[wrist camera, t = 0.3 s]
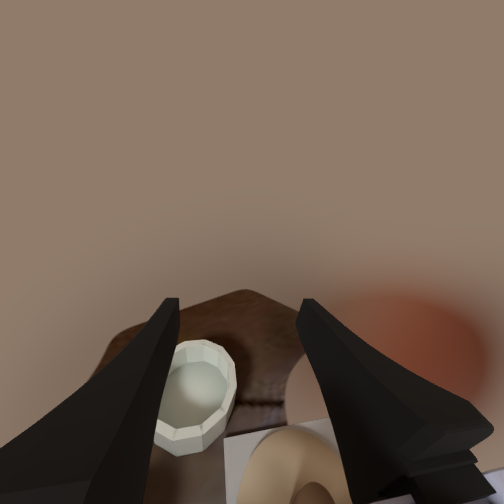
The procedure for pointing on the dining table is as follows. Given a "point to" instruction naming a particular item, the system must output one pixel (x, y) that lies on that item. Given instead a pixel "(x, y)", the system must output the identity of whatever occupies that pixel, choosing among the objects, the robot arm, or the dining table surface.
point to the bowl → (196, 398)
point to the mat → (244, 445)
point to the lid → (293, 472)
